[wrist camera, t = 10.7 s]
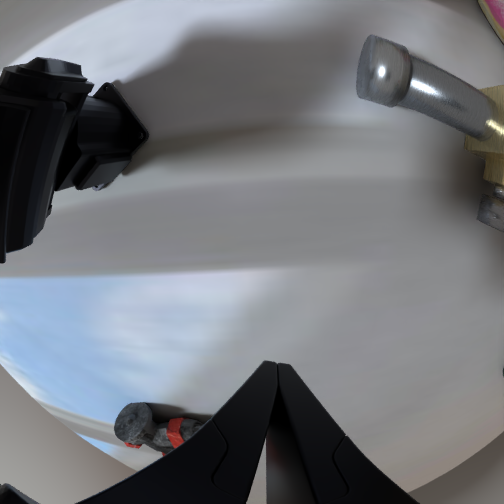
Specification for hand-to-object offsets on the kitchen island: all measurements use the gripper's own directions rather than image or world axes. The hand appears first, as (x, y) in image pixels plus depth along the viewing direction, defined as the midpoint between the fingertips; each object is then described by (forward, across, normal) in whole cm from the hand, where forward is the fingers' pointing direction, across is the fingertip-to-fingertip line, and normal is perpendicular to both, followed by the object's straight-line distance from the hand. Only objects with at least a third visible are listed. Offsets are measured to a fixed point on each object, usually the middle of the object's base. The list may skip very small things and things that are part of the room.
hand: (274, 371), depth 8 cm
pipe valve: (+12, +12, +11) cm, 20 cm away
